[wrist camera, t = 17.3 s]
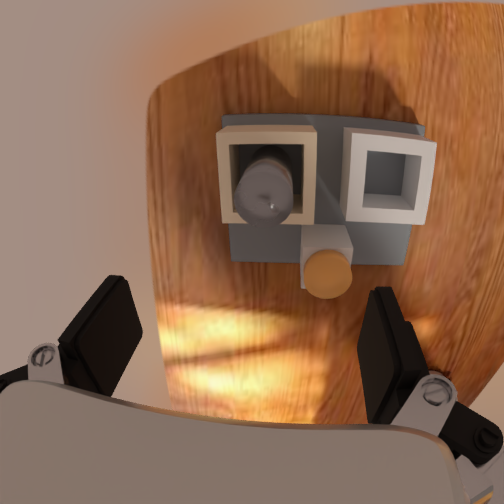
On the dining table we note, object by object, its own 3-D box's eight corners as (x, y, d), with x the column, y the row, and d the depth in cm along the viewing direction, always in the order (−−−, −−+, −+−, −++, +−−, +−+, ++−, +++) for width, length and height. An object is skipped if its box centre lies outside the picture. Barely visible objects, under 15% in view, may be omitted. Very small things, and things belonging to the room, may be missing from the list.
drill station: (419, 124, 27) (447, 134, 21) (399, 258, 34) (416, 290, 29) (224, 114, 29) (208, 121, 23) (233, 254, 37) (222, 287, 31)
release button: (345, 228, 31) (355, 258, 26) (340, 265, 33) (348, 299, 28) (302, 227, 32) (305, 257, 26) (301, 264, 34) (302, 298, 29)
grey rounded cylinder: (291, 145, 28) (293, 172, 20) (291, 184, 30) (292, 228, 22) (249, 145, 29) (232, 172, 20) (250, 184, 31) (235, 227, 22)
